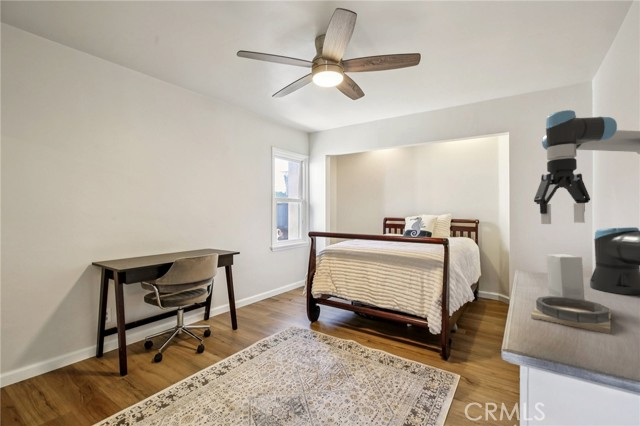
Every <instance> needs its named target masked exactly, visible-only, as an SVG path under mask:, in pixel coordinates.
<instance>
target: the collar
mask: <svg viewBox="0 0 640 426" xmlns="http://www.w3.org/2000/svg"><path fill="white" fill-rule="evenodd" d="M535 304H536V307H535V308H534V309H533V311H532V312H531V314H530V315H531V316H530V317H531V319H534V318H536V319H535V320H539V319H542V320H541V321H544V320H547V321H546V322H549V321H551V322H550V323H554V322H556V323H555V324H559V323H560V324H559V325H563V326H564V325H566V326H570V327H576V328H581V329H586V330H589V331H597V332H601V333H606V334H611V320H610V319H611V315H612V314H611V311H610V309H609V308H608V307H607V306H605V305H603V304H601V303H598V302H594V301H592V300H591V301H590V300H587V299H585V300H582V299H576V298H569V297H557V296H549V295H547V296H540V297H537V299H536V301H535Z"/></svg>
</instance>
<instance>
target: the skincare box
mask: <svg viewBox="0 0 640 426" xmlns="http://www.w3.org/2000/svg"><path fill="white" fill-rule="evenodd" d="M545 256H546V268H547V269H546V271H547V284H548V285H547V286H548V296H557V297H569V298H576V299H582V300H586V298H585V287H584V271H583V270H584V268H583V257H582V256H577V255H572V254H568V253H559V254H557V253H556V254H552V253H551V254H549V253H548V254H546V255H545Z"/></svg>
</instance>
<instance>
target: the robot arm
mask: <svg viewBox="0 0 640 426" xmlns="http://www.w3.org/2000/svg"><path fill="white" fill-rule="evenodd" d="M541 144H542V145H541V146H542V148H543V149H544V150H546V158H547V159H546V160H548V161H547V162H546V163H547V164H546V169H547V170H546V171H547V173H544V174H541V178H540V180H541V181H540V182H539V183H540V184H539V185H538V188H537V190H536V194H535V196H534V198H533V202H534V203H535V204H536V205H539V213H540V220H541V221H540V222H541V225H552V204H551V203H550V201H551V199H553V197H554V195H555V193H556V192H557V191H558V189H560V188H563V189H566V191H567V192H568V194H569V195H570V197H571V198H572V199H573V201H574V202H575V203H573V223H575V224H576V223H577V224H579V223H580V224H581V223H585V211H586V210H585V209H586V208H585V207H586V205H585V204H588V203H589V202H590V201H591V197H590V195H589V192H588V190H587V188H586V186H585V182H584V180H583V174H582V173H581V172H579V173H574V171H575V170H577V168H578V167H577V159H576V157H577V156H578V155H577V153H578V152H577V151H581V150H582V151H604V152H626V153H627V152H629V153H633V152H634V153H637V154H638V155H640V130H624V129H623V130H619V129H618V125H617V121H616V119H615V118H613V117H610V116H596V117H595V116H594V117H577V115H576V111H574V110H571V109H569V110H568V109H567V110H561V111H557V112H553V113H551V114H549V115H548V116H547V117H546V119H545V135H544V136H543V137H542V140H541ZM593 241H594V253H595V254H594V256H595V268H594V270H593V272H592V275H591V277H590V279H589V286H590V288H591V289H595V290H597V291H601V292H602V291H603V292H607V293H613V294H621V295H633V296H634V295H635V296H636V295H637V296H640V229H639V228H638V227H613V228H612V227H610V228H600V229H597V230H596V231H595V233H594V239H593Z"/></svg>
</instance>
